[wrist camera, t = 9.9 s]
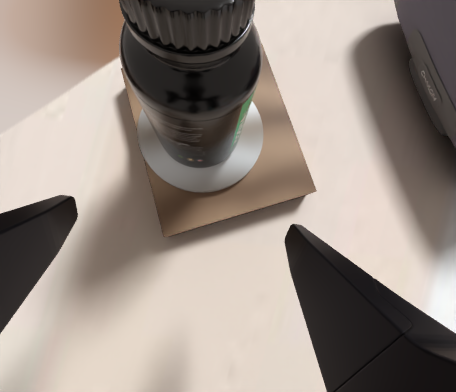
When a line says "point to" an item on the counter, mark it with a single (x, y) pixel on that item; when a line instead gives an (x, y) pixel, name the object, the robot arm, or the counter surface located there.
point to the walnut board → (228, 166)
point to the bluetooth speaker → (433, 57)
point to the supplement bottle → (192, 72)
